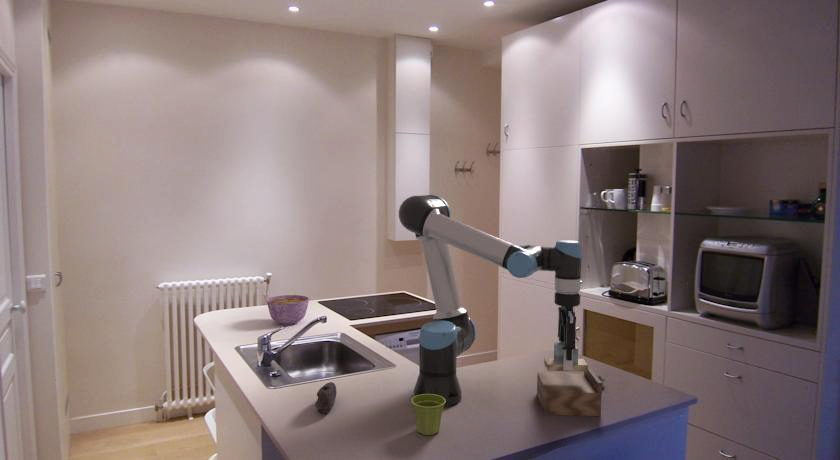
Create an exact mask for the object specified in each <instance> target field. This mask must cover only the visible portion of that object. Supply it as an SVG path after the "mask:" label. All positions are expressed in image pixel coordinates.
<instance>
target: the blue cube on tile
mask: <svg viewBox="0 0 840 460" xmlns="http://www.w3.org/2000/svg"><path fill="white" fill-rule="evenodd" d="M562 347H565V343H559V342H554V345H553V358H550V357H548V358H547V357H544V360H543V365H544V367H545V369H546V370H547V372H571V371H570V370H563V355H564V350H563V349H562ZM575 347H576V348H575V349H574V350H573V371H572V372H581V373H582V372H583V373H584V372H588V365H589V364H588V363H587V361H586V360H585V359H584V358H579V348H578V346H577V345H576V344H575Z"/></svg>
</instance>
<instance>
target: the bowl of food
mask: <svg viewBox="0 0 840 460" xmlns="http://www.w3.org/2000/svg"><path fill="white" fill-rule="evenodd" d="M309 302H310V298H309V297H308V296H306V295H298V294H286V295H285V294H283V295H276V296H272V297H269V298H267V299H266V303H267V304H266V305H267V308H268V312H269V316H270V318H271V320H273V321H274V322H276V323H279V325H281V326H292V325H295V323H296V324H298V322H301V320H303V319H304V318H305V317H306V315H307V311H308V308H309V307H308V306H309ZM291 324H292V325H291Z"/></svg>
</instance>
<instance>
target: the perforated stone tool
mask: <svg viewBox="0 0 840 460" xmlns="http://www.w3.org/2000/svg"><path fill="white" fill-rule="evenodd" d="M316 397H317V400H316V401H315V407H316V409H317V411H318V413H321V414H328V413H330V411H332V409H333V407H334V405H335V402H336V397H337V387H336V384H335V383H334V382H331V381H330V382H327V383H326V384H324V385H322V386H321V387H320V388H319V389H318V391H317V393H316Z"/></svg>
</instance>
